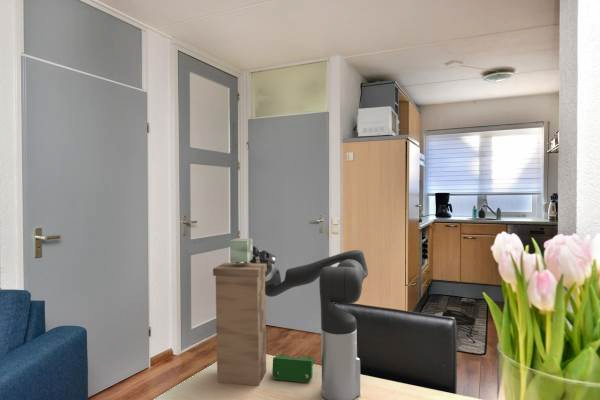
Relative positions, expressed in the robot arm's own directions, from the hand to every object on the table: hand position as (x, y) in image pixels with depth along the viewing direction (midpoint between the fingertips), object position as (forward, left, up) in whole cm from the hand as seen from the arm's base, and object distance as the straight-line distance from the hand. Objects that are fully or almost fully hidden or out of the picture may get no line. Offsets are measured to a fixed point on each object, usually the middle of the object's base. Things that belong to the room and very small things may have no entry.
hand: (247, 248), depth 117 cm
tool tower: (+3, +6, -36) cm, 37 cm away
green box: (-10, +11, -36) cm, 39 cm away
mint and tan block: (+1, +1, -2) cm, 3 cm away
